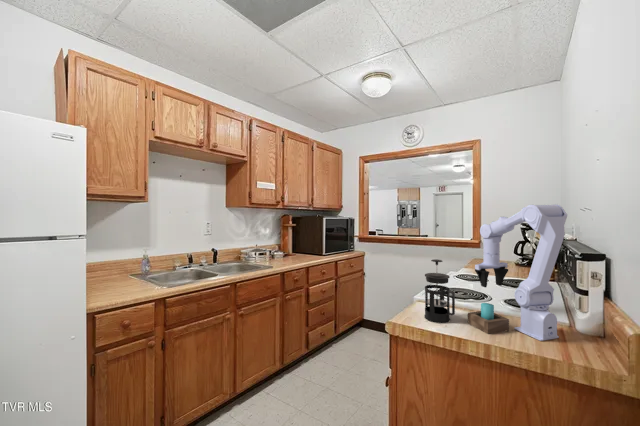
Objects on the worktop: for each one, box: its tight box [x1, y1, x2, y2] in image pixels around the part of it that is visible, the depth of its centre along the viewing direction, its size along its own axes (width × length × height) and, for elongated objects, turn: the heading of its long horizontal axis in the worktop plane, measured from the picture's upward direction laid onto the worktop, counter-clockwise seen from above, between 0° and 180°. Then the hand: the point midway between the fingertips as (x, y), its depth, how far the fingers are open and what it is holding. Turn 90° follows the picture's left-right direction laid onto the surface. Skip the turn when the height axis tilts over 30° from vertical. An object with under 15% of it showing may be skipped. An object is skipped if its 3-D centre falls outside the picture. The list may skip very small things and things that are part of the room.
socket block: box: [467, 310, 510, 335], centre depth 101 cm, size 9×9×4 cm
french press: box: [423, 258, 456, 324], centre depth 109 cm, size 12×9×23 cm
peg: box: [480, 302, 495, 320], centre depth 101 cm, size 4×4×8 cm
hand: (491, 285), depth 116 cm, fingers open, 7 cm apart
